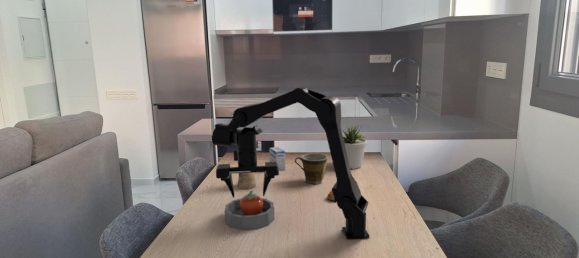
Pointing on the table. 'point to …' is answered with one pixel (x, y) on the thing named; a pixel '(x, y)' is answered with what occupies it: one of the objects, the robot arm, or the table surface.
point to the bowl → (243, 222)
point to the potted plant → (354, 147)
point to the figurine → (247, 180)
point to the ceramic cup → (313, 167)
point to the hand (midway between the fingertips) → (248, 196)
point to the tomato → (251, 204)
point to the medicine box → (277, 157)
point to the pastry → (331, 196)
